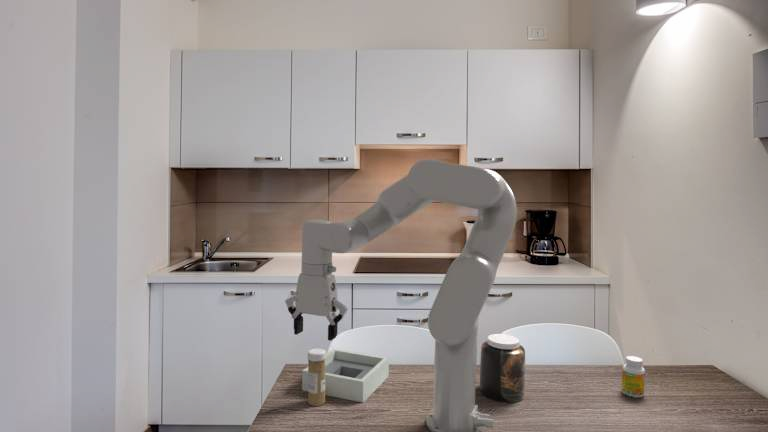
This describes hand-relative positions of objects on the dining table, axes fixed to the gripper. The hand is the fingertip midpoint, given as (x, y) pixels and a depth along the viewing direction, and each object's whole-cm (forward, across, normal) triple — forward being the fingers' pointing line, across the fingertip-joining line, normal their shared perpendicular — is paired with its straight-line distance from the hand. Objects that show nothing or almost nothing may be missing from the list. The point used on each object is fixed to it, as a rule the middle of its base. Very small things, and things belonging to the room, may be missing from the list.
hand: (315, 335), depth 119 cm
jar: (+16, -44, -25) cm, 53 cm away
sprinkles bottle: (+18, -1, 0) cm, 18 cm away
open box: (+17, -3, -14) cm, 22 cm away
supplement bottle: (+16, -77, -39) cm, 87 cm away
